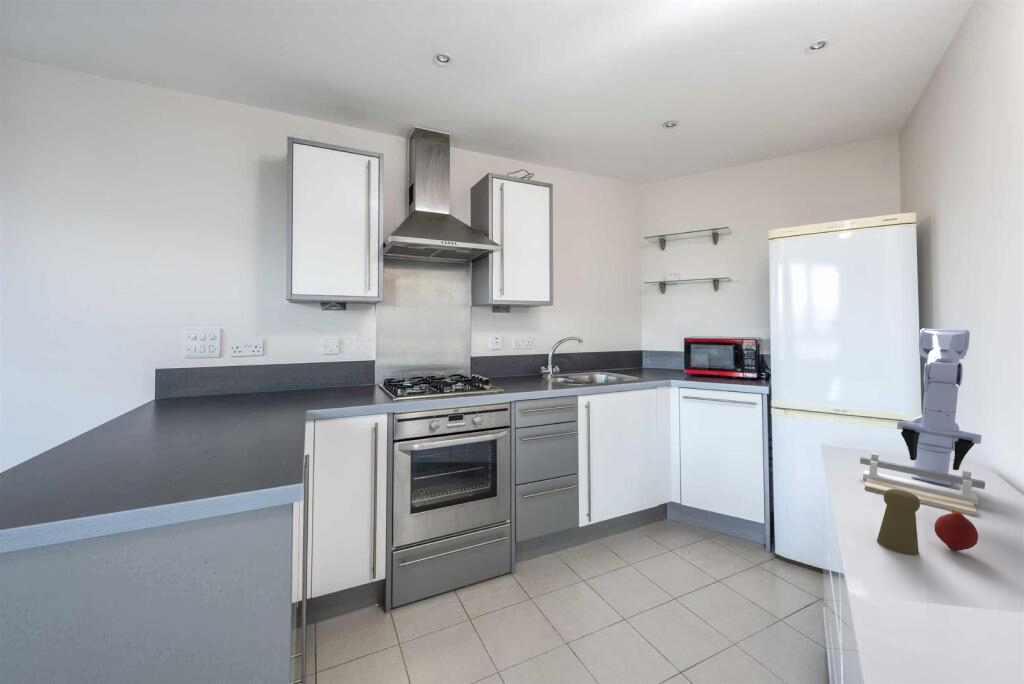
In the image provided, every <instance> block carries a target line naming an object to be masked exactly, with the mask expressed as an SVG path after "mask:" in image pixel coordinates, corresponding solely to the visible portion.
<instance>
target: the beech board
mask: <svg viewBox="0 0 1024 684" xmlns="http://www.w3.org/2000/svg"><path fill="white" fill-rule="evenodd" d="M889 489H898V490H903V491H907V492H910V493H912V494H914V495H916V496H917V497H918V499H919V500H920V504H923V503H924V505H927V506H928V505H929V506H933V507H937V508H939V509H940V508H941V509H946V510H948V511H949V510H950V511H952V510H954V509H955V510H958V511H959V512H960V513H961V514H966V515H971V516H974V517H977V513H978V512H977V509H976V506H975V505H974V504H973V502H970V501H965V500H961V499H956V498H952V497H947V496H943V495H938V494H934V493H929V492H925V491H920V490H916V489H912V488H907V487H903V486H898V485H894V484H889V483H885V482H880V481H876V480H871V479H867V480H865V484H864V490H866V491H870V492H874V493H878V494H882V495H884V493H885V492H886V491H887V490H889Z"/></svg>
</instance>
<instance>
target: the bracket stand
mask: <svg viewBox="0 0 1024 684" xmlns="http://www.w3.org/2000/svg"><path fill="white" fill-rule="evenodd" d="M879 455H880V454H878V453H873V452H872V453H871V457H870V459H875V460H879ZM961 477H966V478H971V477H972V471H968V470H962V473H961ZM867 479H871V480H876V481H880V482H885V483H889V484H894V485H898V486H903V487H907V488H912V489H916V490H920V491H925V492H929V493H934V494H938V495H943V496H947V497H952V498H956V499H961V500H965V501H970V502H973V504H974V506H975V505H976V506H978V504H979V498H978V495H977V494H976V493H973V492H972V481H968V480H963V485H962V484H960V490H959V489H954V488H950V487H946V486H940V485H936V484H930V483H925V482H921V481H918V480H917V481H916V480H913V479H908V478H907V479H906V478H903V477H899V476H892V475H888V474H885V473H879V472H878V467H877V462H873V461H870V465H869V470H865V469H864V471H863V476H862V480H865V481H867ZM971 479H972V478H971Z"/></svg>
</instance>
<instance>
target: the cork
mask: <svg viewBox="0 0 1024 684" xmlns="http://www.w3.org/2000/svg"><path fill="white" fill-rule="evenodd" d="M883 501H884V503H885V504H886V507H885V510H884V514H883V517H882V520H881V525H880V528H879V532H878V535H877V539H876V542H877V544H878V545H880V546H882V547H883V548H885V549H887V550H889V551H892V552H895V553H898V554H902V555H907V556H917V555H919V553H920V551H919V541H918V540H919V539H918V528H917V516H916V512H918V510H919V509H920V507H921V503H920V500H919V499H918V497H917V496H916V495H914V494H912V493H910V492H907V491H903V490H898V489H889V490H887V491H886V492H885V493H884V494H883Z"/></svg>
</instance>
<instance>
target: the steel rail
mask: <svg viewBox="0 0 1024 684" xmlns="http://www.w3.org/2000/svg"><path fill="white" fill-rule="evenodd" d="M859 458H860V459H859V464H860V465H861V464H862V465H866V466H870V461H873V462H877V468H880V469H885V470H890V471H896V472H899V473H905V474H909V475H911V474H913V475H918V476H923V477H928V478H933V479H937V480H942V481H947V482H950V483H954V484H957V485H961V484H962V485H963V480H968V481H972V487H973V488H976V489H981V490H985V489H986V488H985V487H986V481H985V480H980V479H976V478H966V477H962V475H957V474H956V475H955V474H951V473H949V474H946V473H941V472H936V471H931V470H926V469H921V468H916V467H914V466H911V465H910V466H909V465H905V464H900V463H896V462H889V461H884V460H880V459H878V460H875V459H871V457H870V458H869V457H864V456H860V457H859Z"/></svg>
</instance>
